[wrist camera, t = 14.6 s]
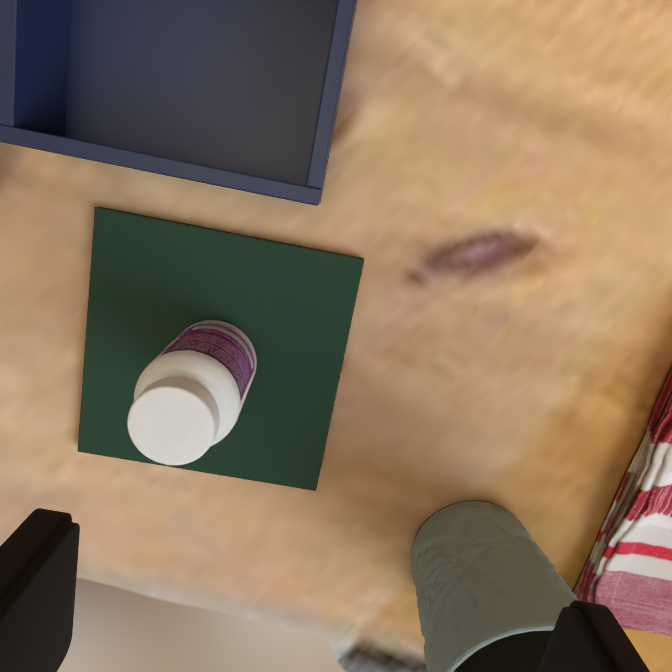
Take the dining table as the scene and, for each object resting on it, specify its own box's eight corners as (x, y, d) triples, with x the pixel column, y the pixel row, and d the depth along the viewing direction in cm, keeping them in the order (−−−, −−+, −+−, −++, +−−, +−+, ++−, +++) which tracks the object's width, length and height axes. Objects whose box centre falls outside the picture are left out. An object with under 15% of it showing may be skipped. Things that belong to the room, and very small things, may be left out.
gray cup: (373, 559, 38) (392, 722, 26) (468, 461, 36) (534, 590, 24) (475, 630, 40) (535, 811, 28) (571, 540, 38) (679, 696, 26)
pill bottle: (173, 314, 32) (109, 364, 23) (260, 322, 32) (232, 375, 23) (171, 395, 34) (111, 474, 24) (254, 403, 34) (226, 484, 24)
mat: (98, 206, 31) (94, 206, 30) (363, 258, 32) (364, 259, 31) (81, 447, 35) (77, 451, 34) (315, 486, 36) (315, 491, 36)
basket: (65, -107, 27) (1, -179, 22) (364, -38, 28) (371, -90, 22) (52, 149, 30) (-5, 140, 25) (320, 203, 31) (318, 206, 26)
